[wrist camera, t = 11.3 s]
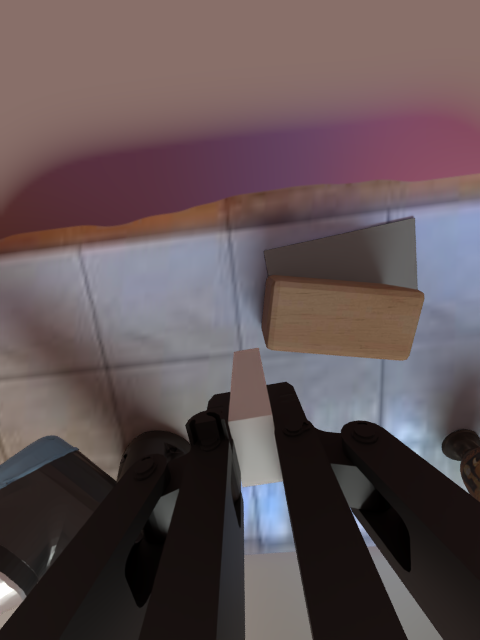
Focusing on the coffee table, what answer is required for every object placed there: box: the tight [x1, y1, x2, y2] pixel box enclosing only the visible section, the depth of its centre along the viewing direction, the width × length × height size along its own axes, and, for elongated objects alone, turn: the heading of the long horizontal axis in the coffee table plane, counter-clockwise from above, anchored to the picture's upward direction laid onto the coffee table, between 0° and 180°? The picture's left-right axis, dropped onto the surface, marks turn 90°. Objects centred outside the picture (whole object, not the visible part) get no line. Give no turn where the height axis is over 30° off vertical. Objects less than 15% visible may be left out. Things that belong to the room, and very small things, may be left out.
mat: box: [264, 218, 418, 290], centre depth 40 cm, size 24×14×1 cm, turn 102°
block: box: [261, 275, 424, 360], centre depth 37 cm, size 10×10×20 cm
